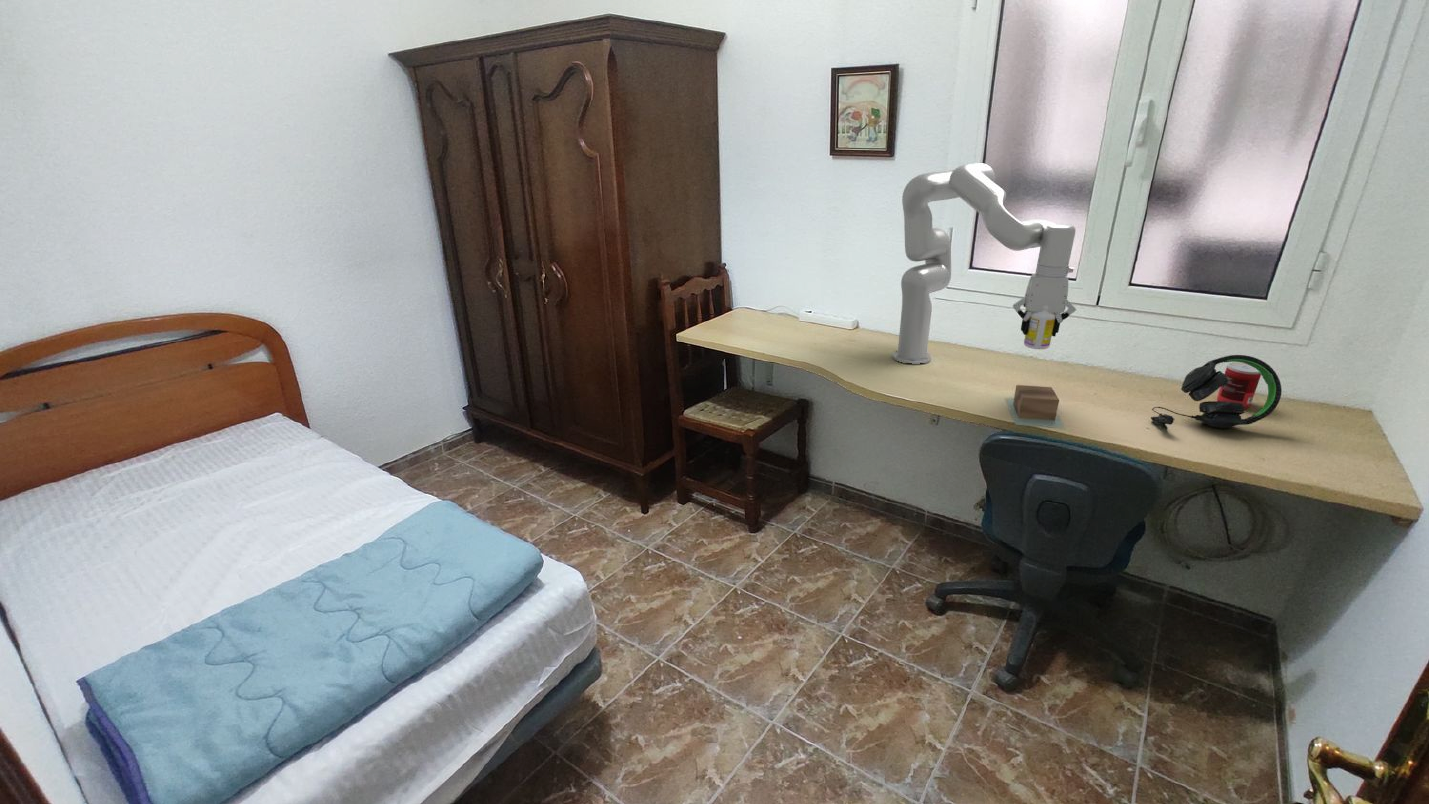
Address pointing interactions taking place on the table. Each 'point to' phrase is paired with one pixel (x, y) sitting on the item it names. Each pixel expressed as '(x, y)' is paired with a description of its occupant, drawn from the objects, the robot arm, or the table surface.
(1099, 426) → the table surface
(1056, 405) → the walnut block
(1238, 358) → the headset
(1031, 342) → the supplement bottle
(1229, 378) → the canned food
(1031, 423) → the felt pad
